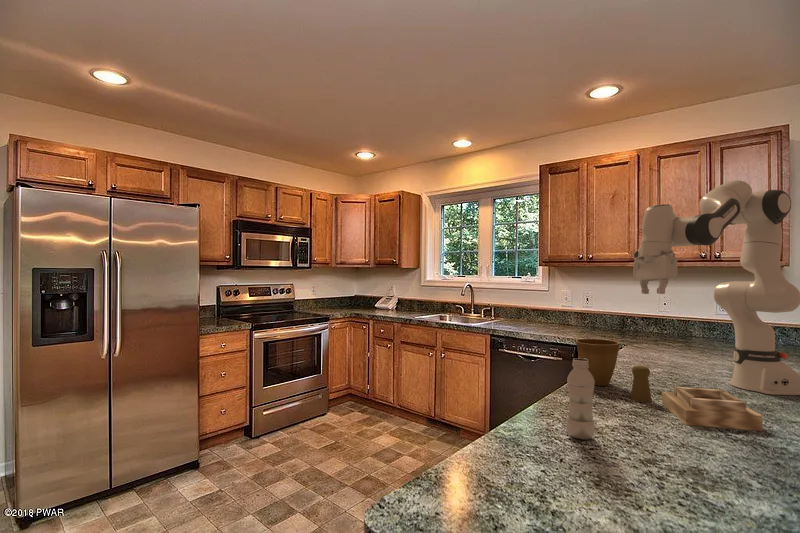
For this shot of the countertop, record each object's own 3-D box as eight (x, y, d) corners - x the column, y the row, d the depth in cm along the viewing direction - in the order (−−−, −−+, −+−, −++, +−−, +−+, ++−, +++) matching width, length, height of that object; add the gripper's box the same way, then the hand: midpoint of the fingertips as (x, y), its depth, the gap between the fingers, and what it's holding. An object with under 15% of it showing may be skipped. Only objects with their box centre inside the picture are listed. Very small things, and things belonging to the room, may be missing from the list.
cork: (654, 402, 133) (654, 368, 134) (634, 401, 135) (634, 367, 135) (647, 397, 139) (647, 364, 139) (628, 395, 141) (627, 363, 141)
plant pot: (621, 381, 159) (620, 340, 159) (617, 391, 146) (617, 346, 146) (579, 376, 167) (579, 336, 167) (572, 384, 154) (572, 342, 154)
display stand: (727, 409, 127) (727, 388, 127) (762, 431, 110) (762, 406, 110) (662, 404, 132) (662, 383, 132) (685, 424, 114) (685, 401, 114)
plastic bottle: (562, 433, 109) (561, 357, 109) (586, 432, 109) (586, 356, 109) (574, 443, 102) (574, 362, 102) (600, 442, 103) (600, 362, 103)
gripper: (685, 250, 126) (682, 294, 125) (649, 256, 146) (646, 294, 145) (663, 247, 126) (660, 292, 125) (630, 254, 146) (627, 292, 146)
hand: (652, 293), depth 135 cm, fingers open, 8 cm apart
